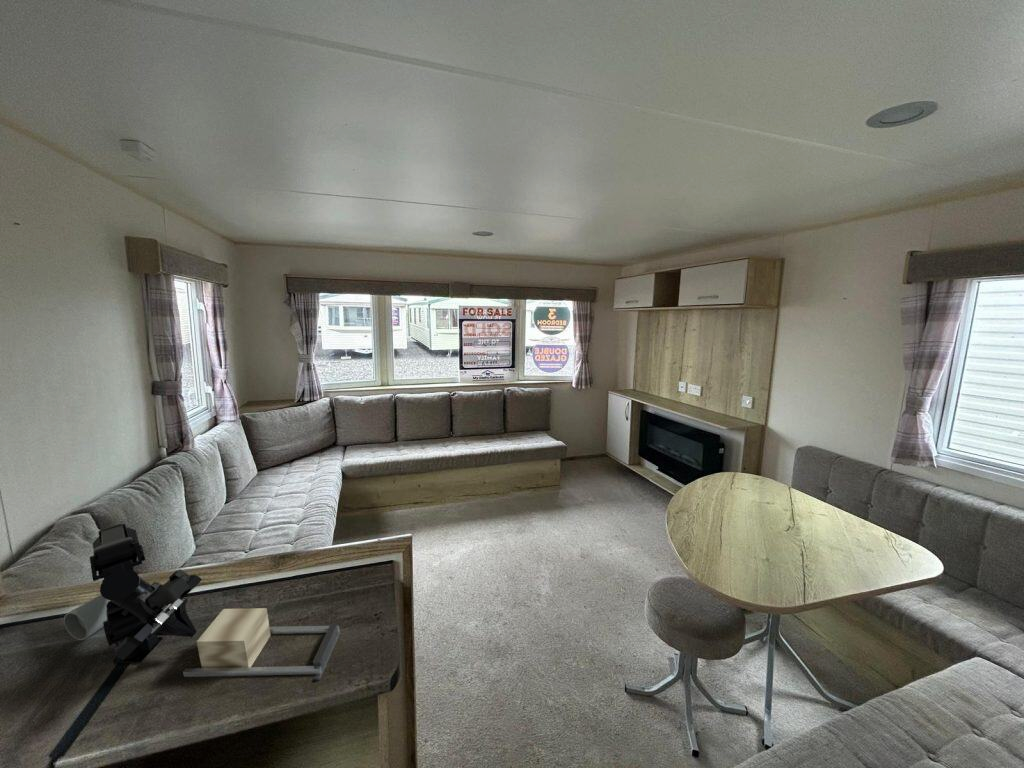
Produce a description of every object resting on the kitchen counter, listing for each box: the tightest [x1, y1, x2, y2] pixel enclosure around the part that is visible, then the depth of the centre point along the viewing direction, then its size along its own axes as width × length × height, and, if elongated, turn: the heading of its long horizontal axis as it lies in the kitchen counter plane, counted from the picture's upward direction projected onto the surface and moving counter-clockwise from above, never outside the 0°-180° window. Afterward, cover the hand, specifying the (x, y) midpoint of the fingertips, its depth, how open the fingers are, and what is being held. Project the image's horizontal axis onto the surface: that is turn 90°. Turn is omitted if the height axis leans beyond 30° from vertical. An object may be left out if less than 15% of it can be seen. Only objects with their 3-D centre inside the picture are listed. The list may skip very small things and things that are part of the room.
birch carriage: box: [196, 607, 272, 668], centre depth 92 cm, size 10×9×8 cm
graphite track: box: [182, 623, 341, 681], centre depth 93 cm, size 29×12×4 cm, turn 93°
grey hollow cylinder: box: [63, 594, 110, 641], centre depth 100 cm, size 11×8×8 cm
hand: (194, 634), depth 92 cm, fingers closed
